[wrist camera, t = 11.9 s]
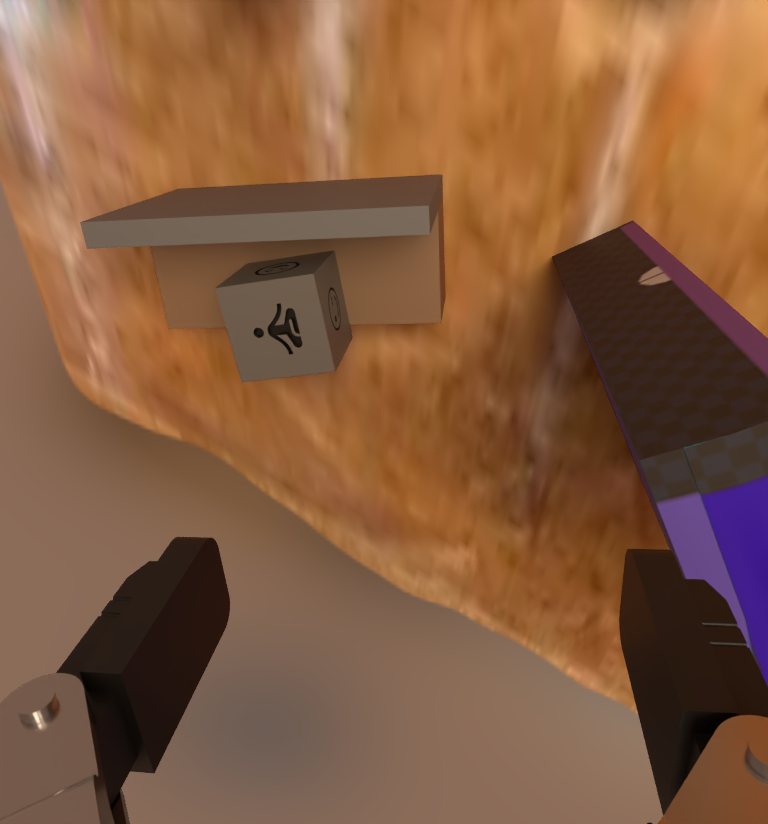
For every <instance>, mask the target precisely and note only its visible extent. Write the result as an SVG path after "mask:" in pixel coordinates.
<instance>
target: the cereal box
mask: <svg viewBox="0 0 768 824" xmlns="http://www.w3.org/2000/svg"><path fill="white" fill-rule="evenodd" d="M552 257H553V259H554V262H555V264H556V267H557V269H558V272H559V274H560V277H561V279H562V282H563V284H564V287H565V289H566V292H567V294H568V297H569V299H570V302H571V304H572V307H573V309H574V312H575V314H576V317H577V319H578V322H579V324H580V327H581V329H582V332H583V334H584V337H585V339H586V342H587V344H588V347H589V349H590V352H591V354H592V357H593V359H594V362H595V364H596V367H597V369H598V372H599V375H600V377H601V380H602V382H603V385H604V387H605V390H606V392H607V395H608V397H609V400H610V402H611V405H612V407H613V410H614V412H615V415H616V417H617V420H618V422H619V425H620V427H621V430H622V432H623V435H624V437H625V440H626V442H627V445H628V447H629V450H630V452H631V455H632V457H633V460H634V462H635V465H636V467H637V470H638V472H639V475H640V477H641V480H642V482H643V485H644V487H645V490H646V492H647V494H648V497H649V499H650V502H651V504H652V507H653V509H654V511H655V514H656V516H657V519H658V521H659V524H660V526H661V528H662V531H663V533H664V536H665V538H666V541H667V543H668V546H669V548H670V550H671V551H672V552H673V554H674V556H675V559H676V561H677V563H678V566H679V568H680V571H681V573H682V576H683V578H684V579H704V580H705V581H707V582H708V583H709V584H710V585H711V586H712V587H713V588H714V589H715V590H716V591H717V592H718V593H719V594H721V595H722V596H723V597H724V598H725V599H726V600H727V602H728V604H729V606H730V608H731V611H732V613H733V615H734V617H735V619H736V621H737V623H738V624H737V625H738V628H740V629H741V631H742V634H743V636H744V638H745V640H746V642H747V648H750V650H751V652H752V654H753V657H754V659H755V661H756V663H757V665H758V667H759V669H760V671H761V673H762V675H763V677H764V680H765V682H766V684H767V686H768V338H767V337H766V336H764V335H763V334H762V333H761V332H760V331H759V330H757V329H756V328H755V327H754V326H753V325H752V324H751V323H749V322H748V321H747V320H746V319H745V318H744V317H743V316H741V315H740V314H739V313H738V312H737V311H736V310H735V309H733V308H732V307H731V306H730V305H729V304H728V303H727V302H725V301H724V300H723V299H722V298H721V297H720V296H719V295H717V294H716V293H715V292H714V291H713V290H712V289H711V288H709V287H708V286H707V285H706V284H705V283H704V282H703V281H701V280H700V279H699V278H698V277H697V276H696V275H695V274H693V273H692V272H691V271H690V270H689V269H688V268H687V267H685V266H684V265H683V264H682V263H681V262H680V261H679V260H677V259H676V258H675V257H674V256H673V255H672V254H671V253H669V252H668V251H667V250H666V249H665V248H664V247H663V246H661V245H660V244H659V243H658V242H657V241H656V240H655V239H653V238H652V237H651V236H650V235H649V234H648V233H647V232H645V231H644V230H643V229H642V228H641V227H640V226H639V225H637V224H636V223H635V222H634V221H631V222H629V223H627V224H624V225H622V226H620V227H618V228H615V229H613V230H611V231H609V232H606V233H604V234H602V235H600V236H597V237H595V238H593V239H591V240H588V241H586V242H584V243H582V244H579V245H577V246H575V247H573V248H570V249H568V250H566V251H564V252H561V253H559V254H557V255H555V256H552Z"/></svg>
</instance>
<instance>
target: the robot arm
mask: <svg viewBox="0 0 768 824" xmlns="http://www.w3.org/2000/svg"><path fill="white" fill-rule="evenodd" d="M229 612H230V598H229V593H228V588H227V584H226V579H225V575H224V571H223V566H222V562H221V557H220V553H219V548H218V545H217V542H216V541H215V540H214V539H213V538H199V537H176V538H175V539H173V540H172V542H171V543H170V544H169V546H168V547H167V548H166V550H165V551H164V553H163V554H162V556H161V557H160V558H159V560H158V561H149V562H148V563H146V564H145V565H144V566H142V567H141V568H140V569H138V570H137V571H136V572H134V573H133V574H132V575H130V576H129V577H128V578H127V579H126V580H125V582H124V583H123V584H122V586H121V587H120V588H119V590H118V591H117V592H116V594H115V595H114V596H113V601H110V602H109V603H108V604H107V606H106V607H105V608H104V610H103V611H102V615H101V616H99V617H98V618H97V619H96V620H95V622H94V623H93V624H92V626H91V627H90V628H89V630H88V631H87V633H86V634H85V635H84V636H83V638H82V639H81V640H80V642H79V643H78V644H77V646H76V647H75V648H74V650H73V651H72V652H71V654H70V655H69V656H68V658H67V659H66V660H65V662H64V663H63V664H62V666H61V667H60V668H59V670H58V671H57V672H56V673H55V674H48V675H44V676H41V677H38V678H35V679H33V680H31V681H29V682H27V683H25V684H23V685H22V686H20V687H18V688H17V689H16V690H14V691H13V692H12V693H10V694H9V695H8V696H7V697H6V698H5V699H4V700H3V701H2V702H1V704H0V824H130V822H129V817H128V812H127V807H126V803H125V798H124V795H123V792H122V789H121V787H122V785H123V783H124V782H125V780H126V777H127V776H128V774H129V772H130V771H134V772H145V773H155V771H156V768H157V767H158V765H159V762H160V761H161V758H162V756H163V754H164V752H165V750H166V748H167V746H168V744H169V742H170V740H171V738H172V736H173V734H174V732H175V730H176V728H177V726H178V724H179V722H180V720H181V718H182V716H183V714H184V712H185V710H186V708H187V706H188V704H189V702H190V700H191V698H192V695H193V693H194V691H195V689H196V687H197V685H198V683H199V681H200V679H201V677H202V675H203V673H204V671H205V669H206V667H207V665H208V663H209V661H210V659H211V657H212V654H213V653H214V651H215V648H216V647H217V645H218V643H219V640H220V638H221V637H222V635H223V632H224V630H225V628H226V625H227V622H228V618H229ZM619 624H620V638H621V645H622V650H623V654H624V658H625V662H626V666H627V670H628V674H629V678H630V682H631V686H632V690H633V694H634V698H635V702H636V707H637V711H638V715H639V719H640V723H641V727H642V731H643V735H644V739H645V743H646V747H647V751H648V755H649V759H650V763H651V767H652V771H653V775H654V780H655V784H656V787H657V792H658V796H659V799H660V804H661V808H662V812H663V817H662V819H661V820H660V821H659V823H658V824H768V686H767V684H766V682H765V680H764V677H763V675H762V673H761V671H760V669H759V667H758V665H757V663H756V661H755V659H754V657H753V654H752V652H751V650H750V648H747V642H746V640H745V638H744V636H743V634H742V631H741V629H740V628H738V625H737V624H738V623H737V621H736V619H735V617H734V615H733V613H732V611H731V608H730V606H729V604H728V602H727V600H726V599H725V598H724V597H723V596H722V595H721V594H719V593H718V592H717V591H716V590H715V589H714V588H713V587H712V586H711V585H710V584H709V583H708V582H707V581H705V580H704V579H684V578H683V576H682V573H681V571H680V568H679V566H678V563H677V561H676V559H675V556H674V554H673V552H672V551H671V550H649V549H628V550H627V552H626V556H625V565H624V575H623V585H622V595H621V605H620V618H619ZM647 824H652V823H647Z"/></svg>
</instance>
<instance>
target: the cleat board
mask: <svg viewBox="0 0 768 824" xmlns="http://www.w3.org/2000/svg"><path fill="white" fill-rule="evenodd" d="M80 223H81V227H82V231H83V234H84V238H85V242H86V246H87V249H91V248H115V247H139V246H150V247H151V251H152V256H153V260H154V265H155V269H156V274H157V279H158V283H159V288H160V292H161V297H162V301H163V306H164V310H165V315H166V319H167V324H168V328H169V329H184V328H226V325H225V322H224V318H223V315H222V312H221V308H220V305H219V301H218V298H217V294H216V291H215V288H216V287H217V286H218V285H220V284H221V283H222V282H224V281H225V280H226V279H228V278H229V277H230V276H232V275H233V274H234V273H235V272H237V271H238V270H239V269H241V268H242V267H243V266H245V265H246V264H247V263H254V262H260V261H267V260H273V259H280V258H286V257H293V256H300V255H306V254H313V253H319V252H326V251H332V250H335V255H336V260H337V265H338V270H339V274H340V279H341V284H342V289H343V294H344V299H345V304H346V308H347V313H348V318H349V323H350V325H368V324H414V323H441V320H442V314H443V308H444V302H445V266H444V227H443V188H442V175H425V176H407V177H388V178H370V179H352V180H334V181H315V182H297V183H279V184H261V185H242V186H224V187H206V188H188V189H177V190H174V191H171V192H168V193H165V194H162V195H159V196H156V197H153V198H150V199H148V200H145V201H142V202H139V203H136V204H133V205H130V206H127V207H124V208H121V209H118V210H115V211H112V212H109V213H106V214H103V215H100V216H97V217H95V218H92V219H89V220H86V221H83V222H80Z"/></svg>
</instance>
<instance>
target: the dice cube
mask: <svg viewBox="0 0 768 824" xmlns="http://www.w3.org/2000/svg"><path fill="white" fill-rule="evenodd" d="M215 291H216V294H217V298H218V301H219V305H220V308H221V312H222V315H223V318H224V322H225V325H226V329H227V332H228V336H229V339H230V343H231V346H232V350H233V353H234V356H235V360H236V363H237V367H238V370H239V374H240V377H241V381H242V382H249V381H258V380H267V379H275V378H284V377H293V376H301V375H310V374H319V373H327V372H335V371H336V369H337V367H338V365H339V363H340V361H341V359H342V357H343V355H344V353H345V351H346V349H347V347H348V345H349V344H350V342H351V340H352V333H351V328H350V323H349V318H348V313H347V308H346V304H345V299H344V294H343V289H342V284H341V279H340V274H339V270H338V265H337V260H336V255H335V250H332V251H326V252H319V253H313V254H306V255H300V256H293V257H286V258H280V259H273V260H267V261H260V262H254V263H247V264H246V265H245V266H243V267H242V268H241V269H239V270H238V271H237V272H235V273H234V274H233V275H232V276H230V277H229V278H228V279H226V280H225V281H224V282H222V283H221V284H220V285H218V286H217V287H216V288H215Z"/></svg>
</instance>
